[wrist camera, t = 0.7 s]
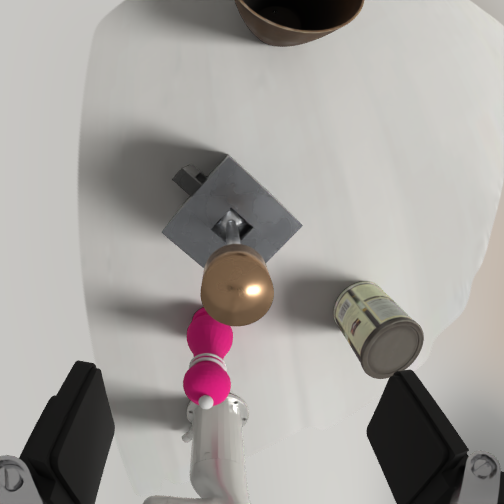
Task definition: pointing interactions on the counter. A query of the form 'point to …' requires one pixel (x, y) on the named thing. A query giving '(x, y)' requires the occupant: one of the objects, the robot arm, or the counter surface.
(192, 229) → the press
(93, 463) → the robot arm
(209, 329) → the pepper mill
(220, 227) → the plunger
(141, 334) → the counter surface
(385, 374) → the coffee can
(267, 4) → the plant pot
